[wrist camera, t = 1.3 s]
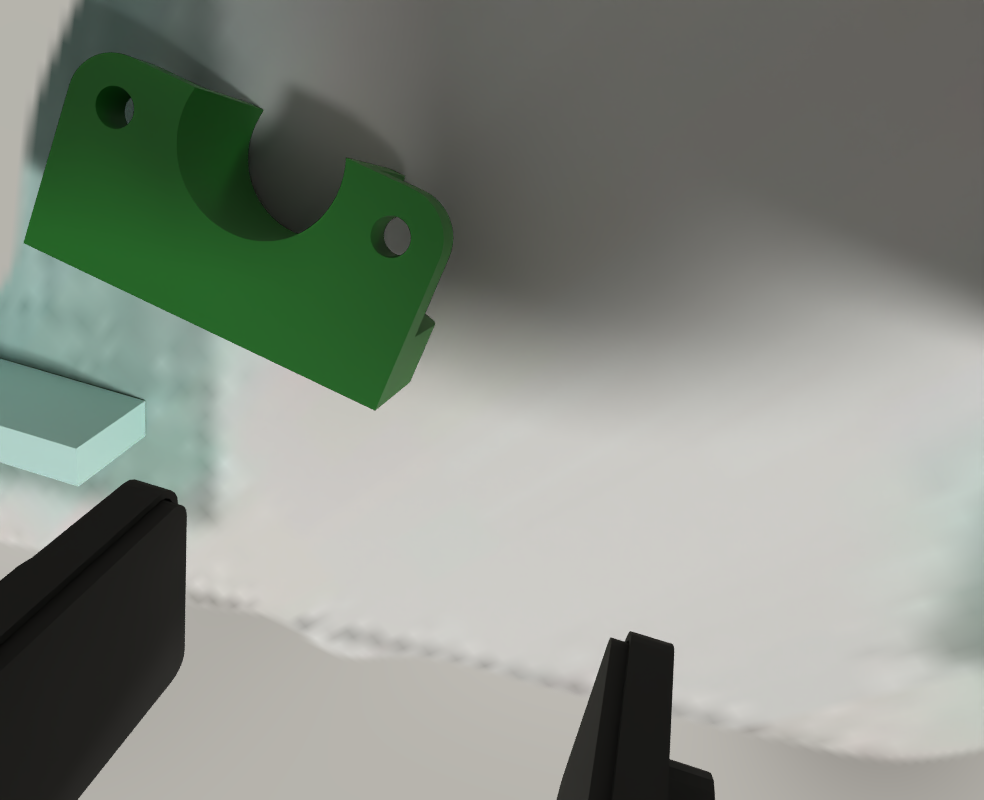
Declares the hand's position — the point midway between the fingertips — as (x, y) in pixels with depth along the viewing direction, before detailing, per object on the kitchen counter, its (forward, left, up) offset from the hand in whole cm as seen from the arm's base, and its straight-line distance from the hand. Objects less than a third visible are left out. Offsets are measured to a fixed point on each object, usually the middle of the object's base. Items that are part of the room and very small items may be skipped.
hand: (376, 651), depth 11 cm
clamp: (+9, 0, -18) cm, 20 cm away
